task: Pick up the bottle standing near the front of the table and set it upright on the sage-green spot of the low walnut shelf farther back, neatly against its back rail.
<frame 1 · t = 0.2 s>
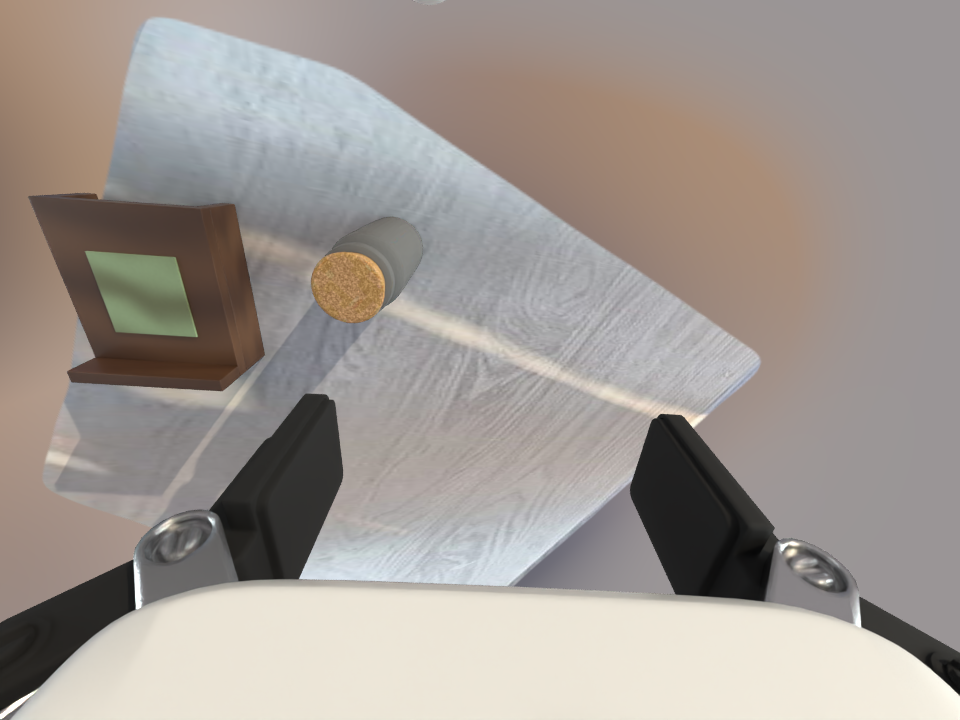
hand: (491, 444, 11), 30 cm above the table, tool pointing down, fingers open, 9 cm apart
bottle: (394, 247, 38), on the table
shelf: (183, 281, 40), on the table
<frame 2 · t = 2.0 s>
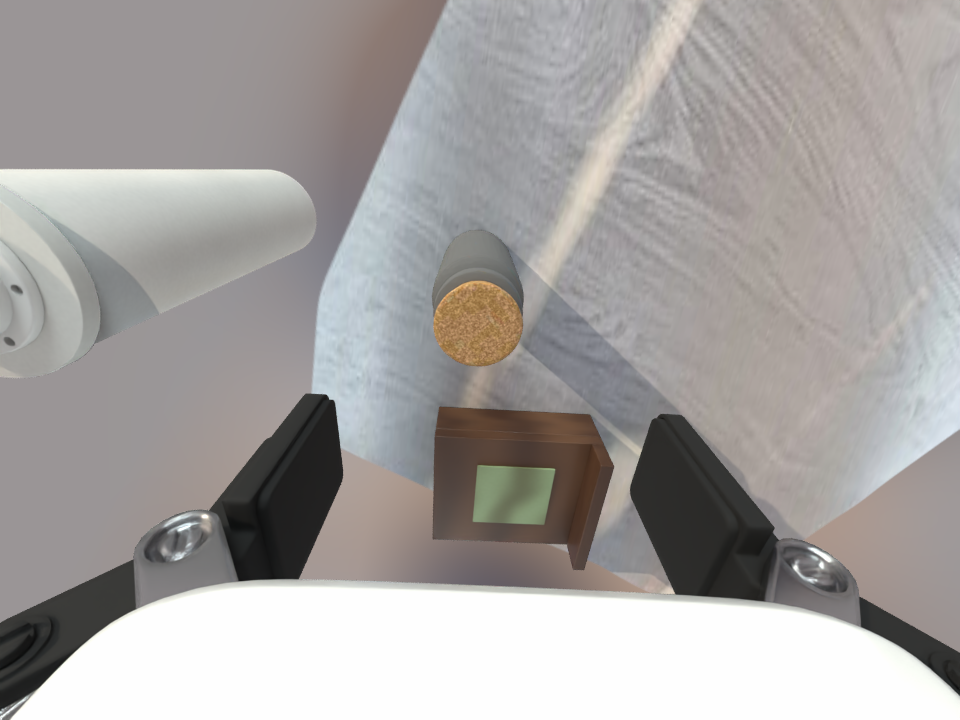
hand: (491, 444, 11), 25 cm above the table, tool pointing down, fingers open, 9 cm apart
bottle: (477, 263, 34), on the table
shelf: (508, 461, 43), on the table
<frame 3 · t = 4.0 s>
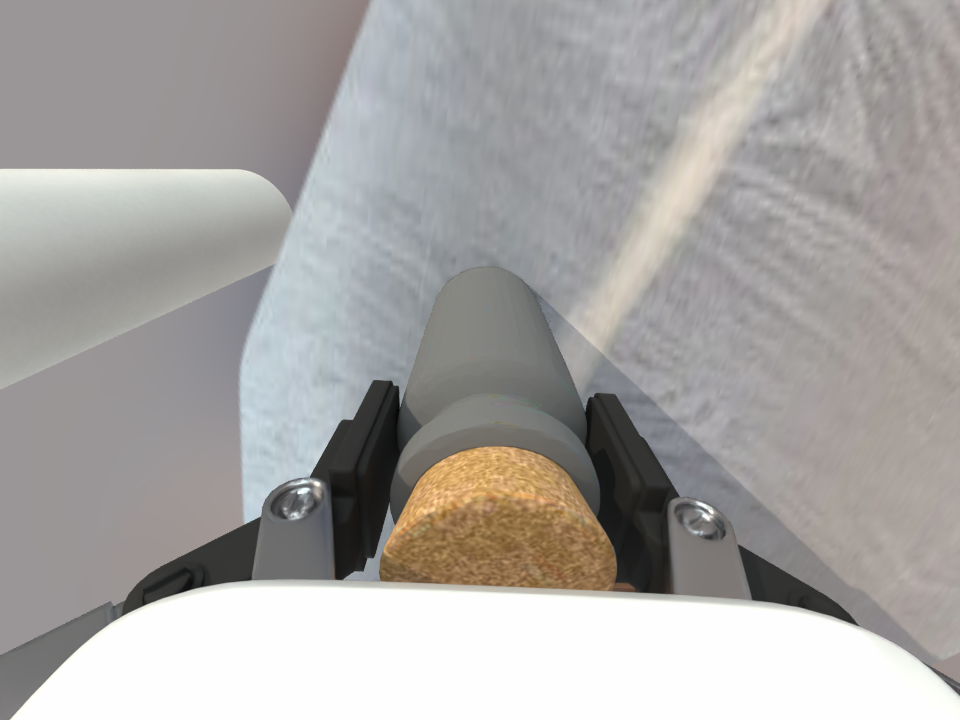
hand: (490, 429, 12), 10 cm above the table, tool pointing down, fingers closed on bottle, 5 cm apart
bottle: (486, 317, 21), on the table, touching gripper
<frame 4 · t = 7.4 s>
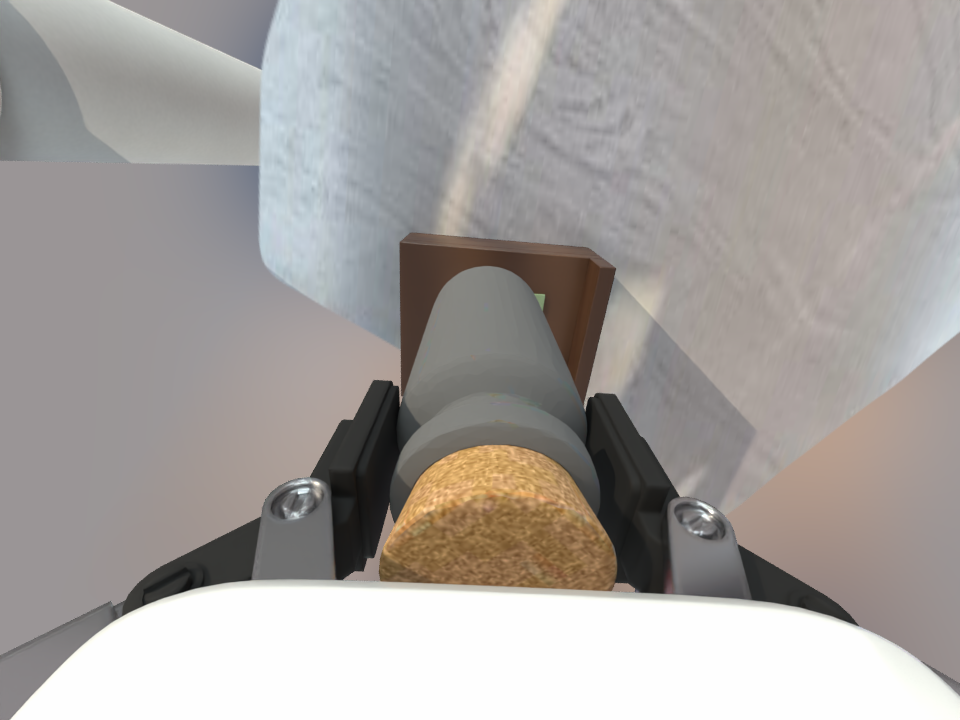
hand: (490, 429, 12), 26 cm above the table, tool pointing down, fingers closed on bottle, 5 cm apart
bottle: (486, 317, 21), point 15 cm above the table, touching gripper
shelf: (492, 314, 37), on the table
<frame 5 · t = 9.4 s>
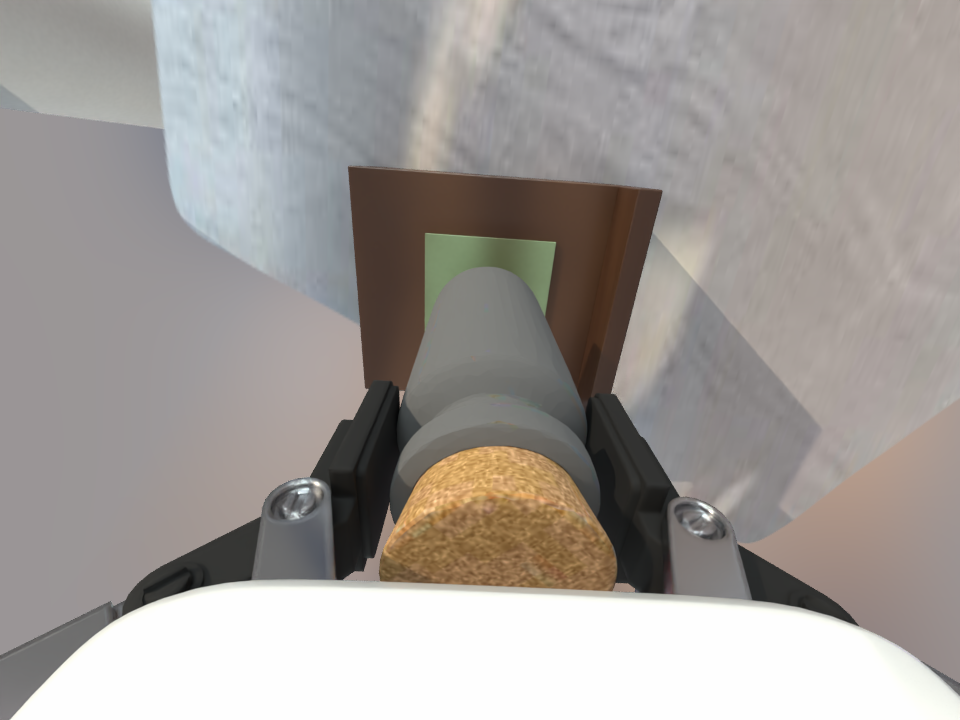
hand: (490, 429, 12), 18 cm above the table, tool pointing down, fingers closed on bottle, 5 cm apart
bottle: (486, 317, 21), point 8 cm above the table, touching gripper
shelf: (485, 279, 28), on the table
when the fingers open (15 cm above the table, at t = 10.8 s): bottle stays where it is, resting on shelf.
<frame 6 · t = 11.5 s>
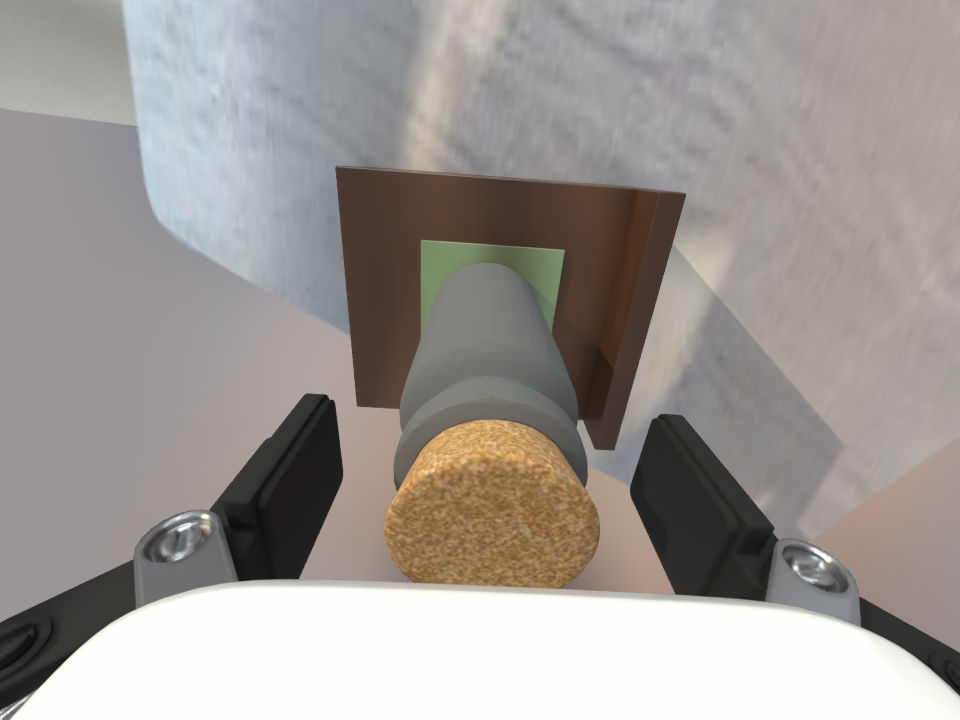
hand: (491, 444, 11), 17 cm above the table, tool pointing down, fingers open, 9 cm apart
bottle: (485, 311, 22), point 5 cm above the table, touching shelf
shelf: (486, 288, 26), on the table
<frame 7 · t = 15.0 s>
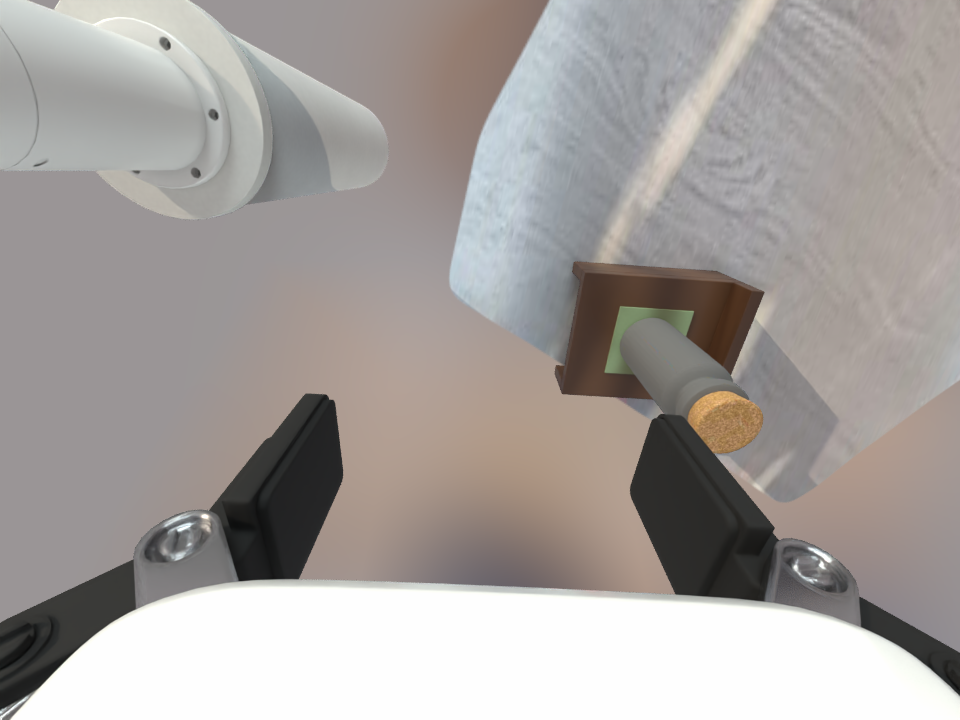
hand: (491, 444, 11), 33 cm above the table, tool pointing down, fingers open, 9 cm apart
bottle: (646, 342, 41), point 5 cm above the table, touching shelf
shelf: (630, 325, 45), on the table
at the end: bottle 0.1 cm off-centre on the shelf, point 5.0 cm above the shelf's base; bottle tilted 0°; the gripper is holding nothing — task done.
